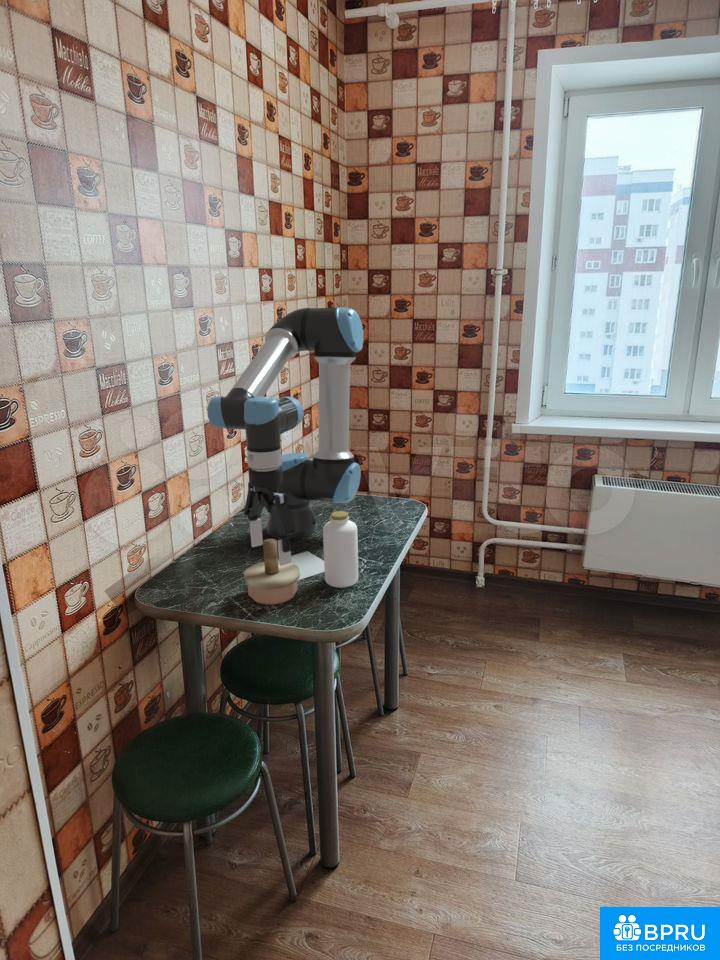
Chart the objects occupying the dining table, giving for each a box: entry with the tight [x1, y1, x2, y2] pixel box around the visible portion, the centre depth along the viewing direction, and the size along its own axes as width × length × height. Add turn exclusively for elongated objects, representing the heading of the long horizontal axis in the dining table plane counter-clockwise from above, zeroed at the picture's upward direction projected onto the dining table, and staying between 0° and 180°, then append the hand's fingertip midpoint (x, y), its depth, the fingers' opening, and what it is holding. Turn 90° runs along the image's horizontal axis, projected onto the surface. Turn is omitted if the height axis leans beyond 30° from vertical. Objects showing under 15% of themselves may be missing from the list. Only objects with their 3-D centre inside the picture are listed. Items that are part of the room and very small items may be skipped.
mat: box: [278, 550, 325, 581], centre depth 170 cm, size 14×14×1 cm
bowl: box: [247, 580, 299, 606], centre depth 155 cm, size 11×11×5 cm
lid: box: [243, 538, 300, 589], centre depth 153 cm, size 13×13×9 cm
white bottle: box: [322, 510, 359, 589], centre depth 159 cm, size 8×8×18 cm
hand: (270, 554), depth 152 cm, fingers open, 13 cm apart
